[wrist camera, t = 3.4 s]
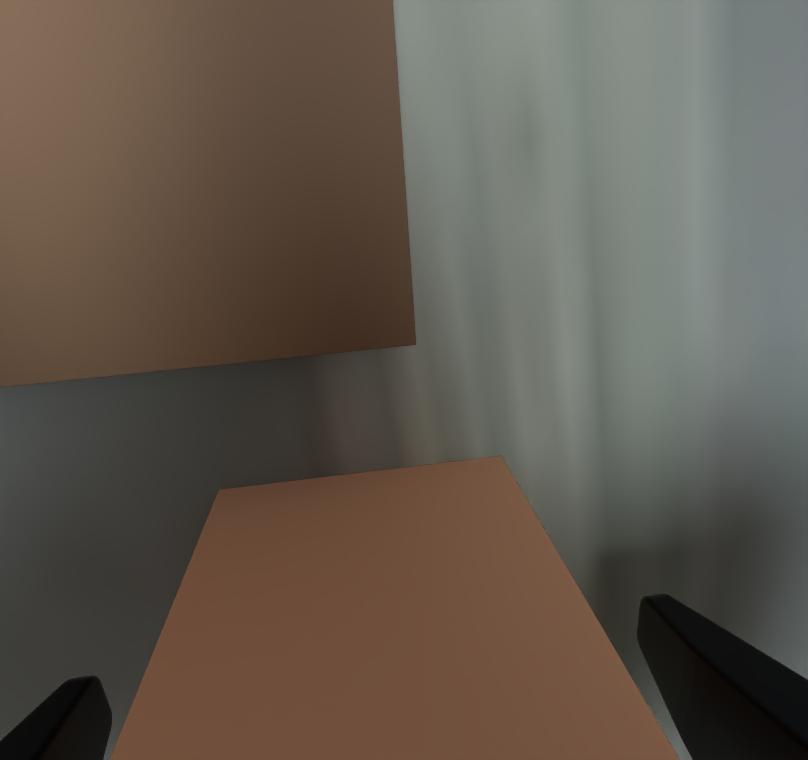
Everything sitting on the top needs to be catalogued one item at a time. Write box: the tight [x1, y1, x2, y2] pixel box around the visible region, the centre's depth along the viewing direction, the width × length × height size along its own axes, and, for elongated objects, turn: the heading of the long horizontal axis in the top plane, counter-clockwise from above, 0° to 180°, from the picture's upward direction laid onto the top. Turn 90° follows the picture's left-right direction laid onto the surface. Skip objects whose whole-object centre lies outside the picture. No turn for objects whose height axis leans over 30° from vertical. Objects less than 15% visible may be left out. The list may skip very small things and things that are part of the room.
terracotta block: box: [110, 456, 680, 760], centre depth 8 cm, size 5×5×6 cm
